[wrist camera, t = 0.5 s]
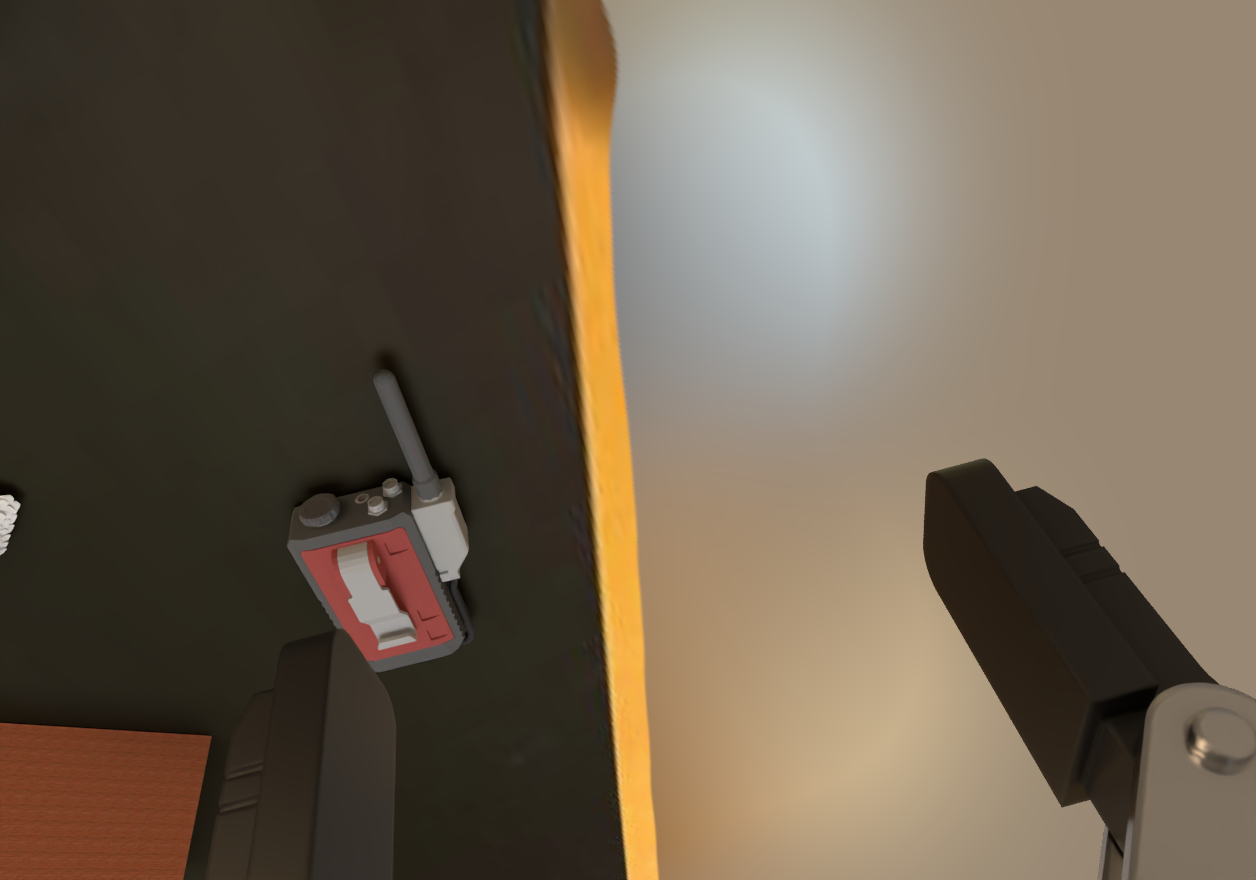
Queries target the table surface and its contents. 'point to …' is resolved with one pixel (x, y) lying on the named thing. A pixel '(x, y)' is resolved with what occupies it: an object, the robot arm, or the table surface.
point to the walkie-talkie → (389, 555)
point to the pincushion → (7, 519)
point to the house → (97, 802)
